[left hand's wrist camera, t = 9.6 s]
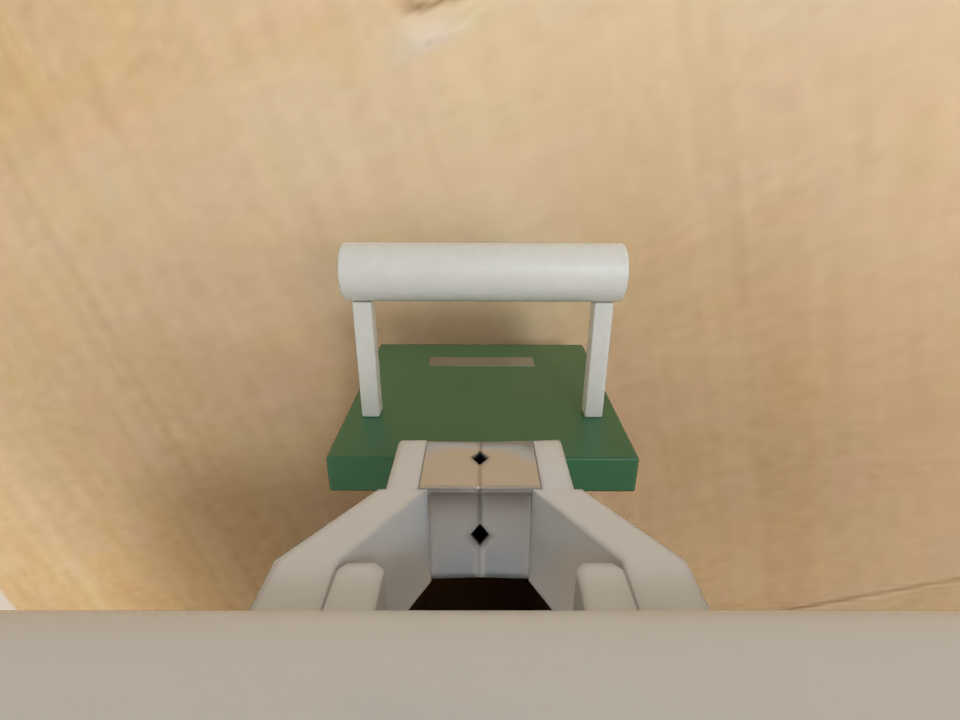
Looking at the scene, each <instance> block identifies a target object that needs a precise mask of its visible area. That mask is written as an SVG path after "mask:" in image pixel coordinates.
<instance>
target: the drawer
mask: <svg viewBox="0 0 960 720" xmlns="http://www.w3.org/2000/svg"><path fill="white" fill-rule="evenodd" d="M337 268H338V282H339V288H340V291H341V294H342V297H343V298H344V300H346V301H353V303H352V308H353V319H354V330H355V341H356V352H357V363H358V373H359V384H360V389H359V392H358V394H357V396H356V398H355V400H354V402H353V404H352V406H351V408H350V410H349V412H348V414H347V416H346V419H345V421H344V423H343V425H342V427H341V429H340V431H339V433H338V435H337V437H336V439H335V441H334V443H333V445H332V448H331V450H330V452H329V454H328V456H327V458H326V460H327V468H328V476H329V484H330V489H331V490H367V491H377V490H378V489H386V487H387V484H388V480H389V477H390V473H391V469H392V466H393V462H394V459H395V455H396V451H397V448H398V444H399V443H400V442H401V441H402V440H427V442H428V441H429V440H430V441H480V442H496V441H542V440H559V441H560V442H561V445H562V448H563V452H564V455H565V459H566V463H567V466H568V470H569V473H570V477H571V480H572V484H573V488H574V489H582V490H583V491H634V490H635V484H636V476H637V469H638V462H639V459H638V456H637V454H636V452H635V450H634V448H633V446H632V444H631V442H630V440H629V438H628V436H627V434H626V432H625V430H624V428H623V426H622V424H621V422H620V420H619V418H618V416H617V414H616V412H615V410H614V408H613V406H612V404H611V402H610V400H609V398H608V396H607V394H606V392H605V383H606V373H607V364H608V354H609V344H610V335H611V325H612V315H613V306H614V304H613V302H619V301H621V300H622V299H623V298H624V296H625V293H626V289H627V285H628V277H629V258H628V252H627V249H626V246H625V245H624V244H623V243H505V242H344V243H342V244H341V246H340V249H339V254H338V266H337ZM375 301H565V302H591V310H590V321H589V333H588V344H587V354H586V352H585V350H584V348H583V346H582V345H381V346H380V348H379V350H378V341H377V328H376V315H375ZM409 610H552V609H551V608H550V607H549V605H548V604H547V603H546V602H545V600H544V599H543V598H542V597H541V595H540V594H539V593H538V592H537V590H536V589H535V588H534V587H533V585H532V584H531V583H530V582H529V578H492V577H466V578H431V582H430V583H429V585H428V586H427V587H426V588H425V590H424V591H423V592H422V593H421V595H420V596H419V597H418V598H417V600H416V601H415V602H414V603H413V605H412V606H411V607H410V608H409Z"/></svg>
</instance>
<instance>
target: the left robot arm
mask: <svg viewBox="0 0 960 720" xmlns="http://www.w3.org/2000/svg"><path fill="white" fill-rule="evenodd" d="M466 577H492V578H529V582H530V583H531V584H532V585H533V587H534V588H535V589H536V590H537V592H538V593H539V594H540V595H541V597H542V598H543V599H544V600H545V602H546V603H547V604H548V605H549V607H550V608H551V609H552V610H409V608H410V607H411V606H412V605H413V603H414V602H415V601H416V600H417V598H418V597H419V596H420V595H421V593H422V592H423V591H424V590H425V588H426V587H427V586H428V585H429V583H430V582H431V578H466ZM0 720H960V610H710V608H709V606H708V604H707V602H706V600H705V598H704V596H703V594H702V592H701V590H700V588H699V586H698V584H697V582H696V580H695V578H694V576H693V574H692V572H691V570H690V568H689V566H688V564H687V562H686V561H685V560H683V559H682V558H680V557H679V556H677V555H676V554H675V553H673V552H672V551H670V550H669V549H667V548H666V547H664V546H663V545H662V544H660V543H659V542H657V541H656V540H654V539H653V538H651V537H650V536H649V535H647V534H646V533H644V532H643V531H641V530H640V529H638V528H637V527H636V526H634V525H633V524H631V523H630V522H628V521H627V520H625V519H624V518H622V517H621V516H620V515H618V514H617V513H615V512H614V511H612V510H611V509H609V508H608V507H607V506H605V505H604V504H602V503H601V502H599V501H598V500H596V499H595V498H594V497H592V496H591V495H589V494H588V493H586V492H585V491H583V490H582V489H574V488H573V484H572V480H571V477H570V473H569V470H568V466H567V463H566V459H565V455H564V452H563V448H562V445H561V442H560V441H559V440H542V441H496V442H480V441H430V440H429V441H428V442H427V440H402V441H401V442H400V443H399V444H398V448H397V451H396V455H395V459H394V462H393V466H392V469H391V473H390V477H389V480H388V484H387V487H386V489H378V490H377V491H375V492H374V493H372V494H371V495H369V496H368V497H366V498H365V499H364V500H362V501H361V502H359V503H358V504H356V505H355V506H353V507H352V508H350V509H349V510H348V511H346V512H345V513H343V514H342V515H340V516H339V517H337V518H336V519H334V520H333V521H332V522H330V523H329V524H327V525H326V526H324V527H323V528H321V529H320V530H318V531H317V532H316V533H314V534H313V535H311V536H310V537H308V538H307V539H305V540H304V541H302V542H301V543H300V544H298V545H297V546H295V547H294V548H292V549H291V550H289V551H288V552H286V553H285V554H284V555H282V556H281V557H279V558H278V559H276V560H275V561H274V563H273V565H272V566H271V568H270V570H269V572H268V574H267V576H266V578H265V580H264V582H263V584H262V586H261V588H260V590H259V592H258V594H257V596H256V598H255V600H254V602H253V604H252V606H251V608H250V610H0Z"/></svg>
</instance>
